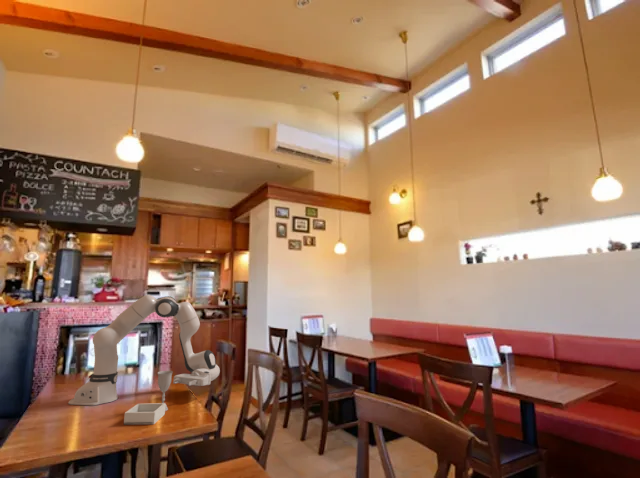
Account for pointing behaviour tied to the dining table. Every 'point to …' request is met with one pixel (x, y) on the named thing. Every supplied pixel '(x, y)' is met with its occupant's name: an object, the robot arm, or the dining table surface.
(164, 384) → the chalice
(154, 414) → the walled box
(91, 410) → the dining table surface
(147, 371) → the dining table surface
